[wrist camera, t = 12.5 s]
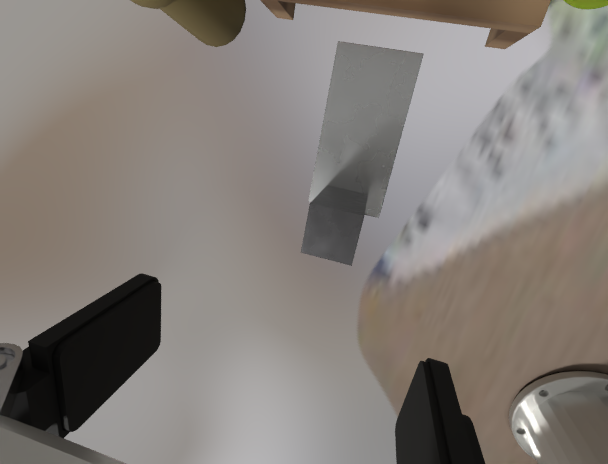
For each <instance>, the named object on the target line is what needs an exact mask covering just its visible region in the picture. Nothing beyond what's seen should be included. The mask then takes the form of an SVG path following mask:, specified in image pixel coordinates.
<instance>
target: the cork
mask: <svg viewBox="0 0 608 464" xmlns="http://www.w3.org/2000/svg"><path fill="white" fill-rule="evenodd" d="M131 1H132V2H134V3H135V4H138V5H140V6H142V7H148V8H154V9H159V8H160V9H161V10H162V11H163V12H165V13H166V14H167V15H168V16H170V17H171V18H172V19H173V20H175V21H176V22H177V23H178V24H180V25H181V26H182V27H183V28H185V29H186V30H187V31H188V32H190V33H191V34H192V35H194V36H195V37H196V38H197V39H199V40H200V41H202V42H203V43H205V44H206V45H210V46H215V47H218V46H223V45H226V44H228V43H229V42H231V41H233V40H234V39H235V37H236V36H237V35H238V34H239V32H240V31H241V28H242V26H243V23H244V20H245V13H246V6H245V0H131Z"/></svg>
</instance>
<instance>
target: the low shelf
mask: <svg viewBox="0 0 608 464" xmlns="http://www.w3.org/2000/svg"><path fill="white" fill-rule="evenodd" d="M261 1H262V2H263V4H265V6H266V7H267V8H268V9H269V10H270V11H271V12H272V13H273V14H274V15H275V16H276V17H277V18H283V19H290V20H293V18H294V10H295V3H299V4H307V5H314V6H323V7H330V8H338V9H345V10H353V11H362V12H369V13H376V14H385V15H393V16H400V17H408V18H415V19H423V20H431V21H438V22H447V23H454V24H462V25H469V26H478V27H485V28H491V30H490V33H489V36H488V39H487V42H486V45H485V47H493V48H500V49H506V48H507V47H509V46H511V45H512V44H514V43H515V42H517V41H519V40H520V39H522V38H523V37H525V36H527V35H528V34H530V33H531V32H533V31H535V30H536V29H538V28H539V27H541V25H542V22H543V19H544V17H545V14H546V12H547V9H548V6H549V4H550V1H551V0H261Z"/></svg>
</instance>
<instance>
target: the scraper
mask: <svg viewBox="0 0 608 464" xmlns="http://www.w3.org/2000/svg"><path fill="white" fill-rule="evenodd" d="M422 58H423V54H422V53H415V52H408V51H401V50H395V49H388V48H381V47H373V46H367V45H360V44H354V43H346V42H340V41H339V42H338V45H337V50H336V55H335V61H334V66H333V72H332V77H331V83H330V88H329V93H328V98H327V104H326V109H325V115H324V120H323V125H322V131H321V136H320V142H319V147H318V153H317V158H316V163H315V169H314V174H313V180H312V185H311V190H310V196H309V202H311V203H310V206H309V212H308V218H307V222H306V228H305V233H304V238H303V244H302V250H301V252H302V253H305V254H309V255H313V256H316V257H320V258H324V259H328V260H332V261H336V262H340V263H343V264H347V265H351V266H352V262H353V258H354V254H355V250H356V246H357V242H358V238H359V234H360V231H361V226H362V223H363V218H364V215H369V216H373V217H377V218H379V215H380V212H381V208H382V204H383V201H384V197H385V193H386V190H387V186H388V182H389V178H390V175H391V171H392V168H393V164H394V160H395V157H396V153H397V149H398V145H399V142H400V138H401V134H402V130H403V127H404V123H405V120H406V116H407V112H408V109H409V105H410V101H411V98H412V94H413V91H414V87H415V83H416V79H417V76H418V72H419V68H420V65H421V61H422Z"/></svg>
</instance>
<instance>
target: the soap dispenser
mask: <svg viewBox="0 0 608 464" xmlns="http://www.w3.org/2000/svg"><path fill="white" fill-rule="evenodd" d="M564 1H565V2H566V3H568V4H569V5H571V6H573V7H576V8H580V9H596V8H601V7H604V6H607V5H608V0H564Z"/></svg>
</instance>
